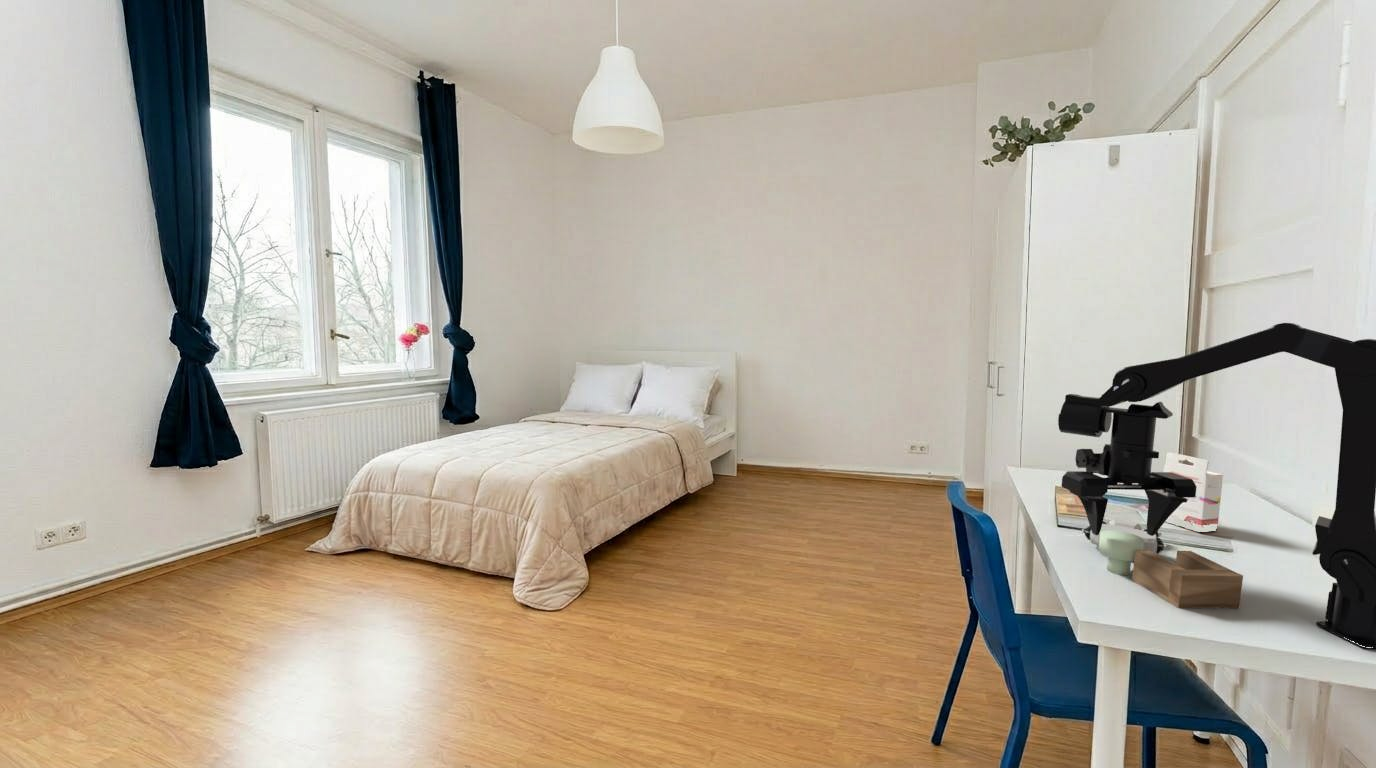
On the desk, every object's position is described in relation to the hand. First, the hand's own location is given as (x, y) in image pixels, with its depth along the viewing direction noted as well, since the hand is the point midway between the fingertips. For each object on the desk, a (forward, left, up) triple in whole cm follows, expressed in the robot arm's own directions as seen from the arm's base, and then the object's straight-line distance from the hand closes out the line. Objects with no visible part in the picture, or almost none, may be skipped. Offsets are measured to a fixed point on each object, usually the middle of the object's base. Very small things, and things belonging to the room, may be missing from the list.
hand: (1122, 534), depth 104 cm
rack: (-8, -4, -6) cm, 11 cm away
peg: (0, 0, -6) cm, 6 cm away
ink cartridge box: (+23, -30, -7) cm, 39 cm away
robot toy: (+11, -8, -7) cm, 15 cm away
